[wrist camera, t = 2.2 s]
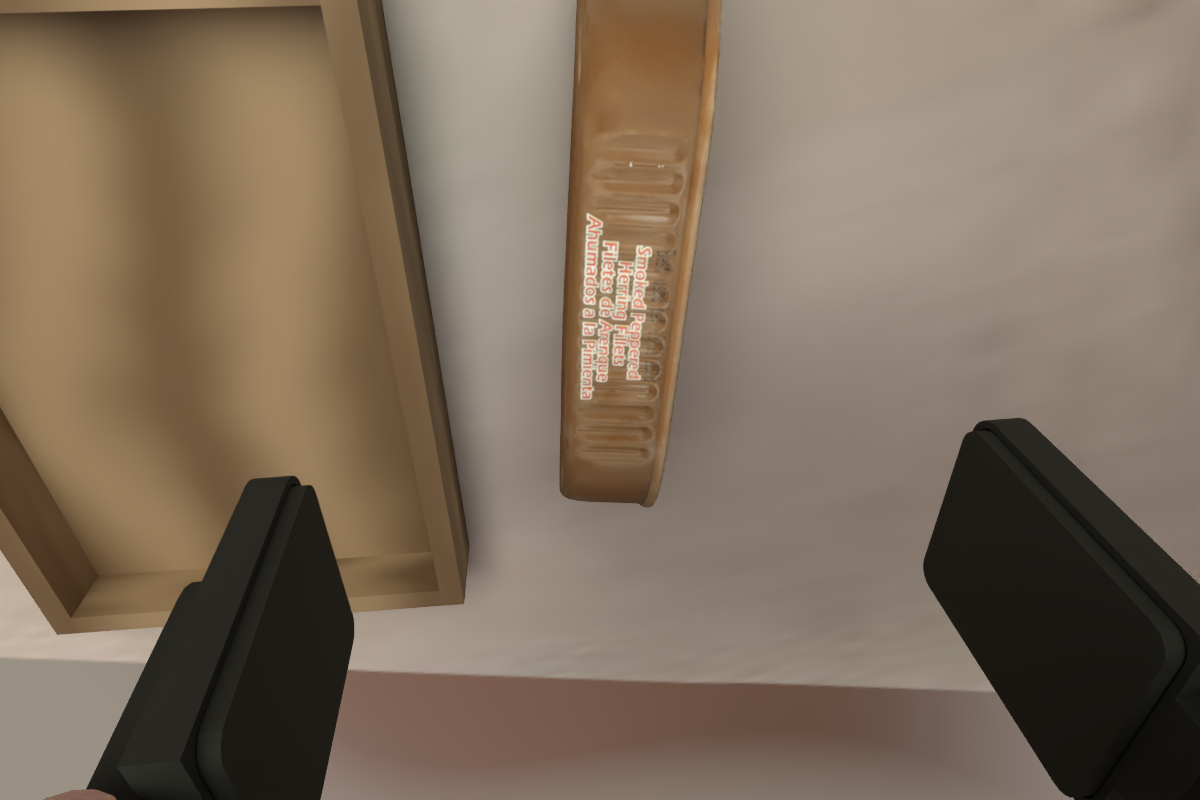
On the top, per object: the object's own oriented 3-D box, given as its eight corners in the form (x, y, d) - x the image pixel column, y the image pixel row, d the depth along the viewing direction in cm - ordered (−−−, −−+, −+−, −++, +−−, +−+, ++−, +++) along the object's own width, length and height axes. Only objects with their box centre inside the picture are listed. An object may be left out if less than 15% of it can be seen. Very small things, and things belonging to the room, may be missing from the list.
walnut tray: (374, -46, 18) (350, -38, 16) (469, 545, 30) (463, 603, 27) (-252, -33, 17) (-383, -22, 15) (97, 572, 29) (57, 634, 26)
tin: (634, 399, 26) (672, 574, 20) (547, 398, 26) (555, 577, 19) (686, -103, 18) (787, -110, 11) (559, -113, 18) (581, -126, 11)
